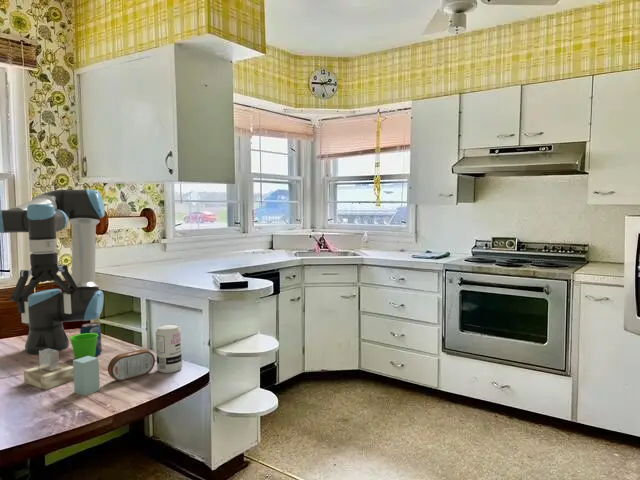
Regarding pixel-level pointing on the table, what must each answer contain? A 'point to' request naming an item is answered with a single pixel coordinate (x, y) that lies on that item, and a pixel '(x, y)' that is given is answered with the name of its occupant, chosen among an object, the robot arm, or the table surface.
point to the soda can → (93, 329)
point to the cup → (84, 344)
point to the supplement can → (168, 348)
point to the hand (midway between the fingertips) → (47, 318)
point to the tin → (131, 364)
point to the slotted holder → (48, 376)
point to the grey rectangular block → (49, 360)
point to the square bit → (86, 375)
